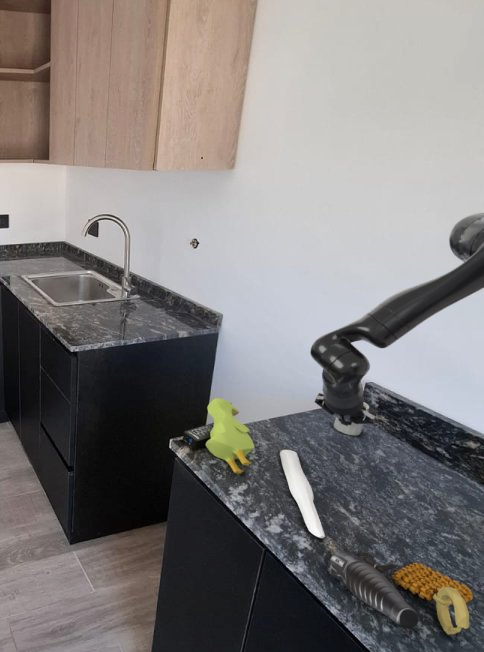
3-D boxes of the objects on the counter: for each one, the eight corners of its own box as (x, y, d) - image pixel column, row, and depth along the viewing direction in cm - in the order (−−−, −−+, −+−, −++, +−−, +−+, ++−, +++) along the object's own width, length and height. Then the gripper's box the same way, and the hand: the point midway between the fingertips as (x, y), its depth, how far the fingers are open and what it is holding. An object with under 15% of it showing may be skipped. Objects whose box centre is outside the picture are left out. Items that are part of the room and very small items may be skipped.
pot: (352, 423, 125) (360, 398, 122) (365, 436, 119) (374, 410, 117) (328, 421, 125) (336, 396, 123) (341, 434, 120) (349, 408, 117)
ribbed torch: (409, 638, 70) (413, 628, 68) (319, 576, 79) (320, 566, 78) (435, 594, 73) (440, 584, 71) (345, 539, 83) (347, 530, 81)
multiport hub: (228, 438, 116) (230, 430, 115) (195, 449, 111) (196, 441, 110) (214, 429, 119) (216, 421, 118) (181, 439, 115) (183, 431, 114)
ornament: (451, 591, 79) (507, 661, 65) (377, 576, 82) (415, 640, 68) (457, 553, 78) (515, 617, 64) (382, 540, 82) (422, 597, 67)
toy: (286, 463, 104) (240, 396, 119) (229, 457, 98) (188, 386, 113) (267, 480, 107) (225, 412, 122) (212, 474, 101) (174, 404, 116)
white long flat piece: (329, 540, 86) (331, 529, 85) (303, 537, 87) (304, 526, 86) (296, 455, 111) (297, 446, 110) (276, 453, 112) (277, 444, 112)
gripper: (384, 389, 102) (383, 420, 114) (318, 368, 111) (323, 398, 124) (370, 419, 101) (370, 446, 113) (304, 395, 110) (311, 423, 122)
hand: (345, 421), depth 118 cm, fingers closed
